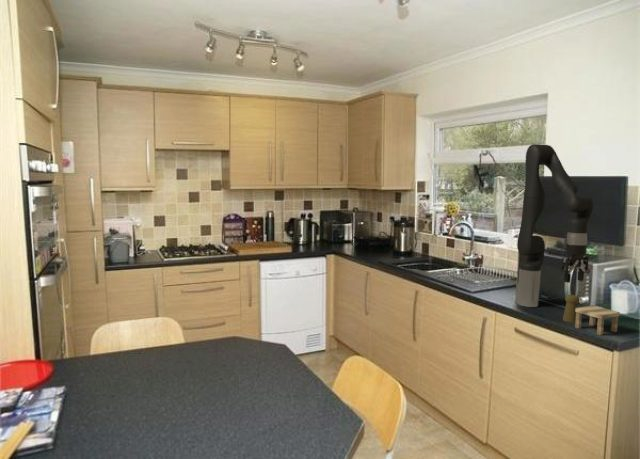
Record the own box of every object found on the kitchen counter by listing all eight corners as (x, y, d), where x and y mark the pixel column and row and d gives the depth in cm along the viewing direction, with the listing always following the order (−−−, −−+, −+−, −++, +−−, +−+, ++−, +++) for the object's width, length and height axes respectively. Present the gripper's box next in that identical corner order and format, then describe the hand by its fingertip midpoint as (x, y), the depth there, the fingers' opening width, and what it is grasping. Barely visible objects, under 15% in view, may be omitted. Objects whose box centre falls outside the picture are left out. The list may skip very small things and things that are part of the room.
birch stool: (574, 327, 189) (575, 308, 188) (591, 323, 194) (592, 305, 193) (600, 335, 179) (602, 315, 179) (617, 331, 184) (619, 312, 184)
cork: (574, 318, 201) (576, 293, 200) (581, 323, 195) (583, 297, 194) (560, 318, 201) (562, 293, 200) (566, 322, 195) (568, 296, 194)
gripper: (579, 241, 201) (576, 278, 203) (557, 243, 195) (554, 281, 196) (596, 243, 194) (593, 281, 196) (573, 245, 188) (571, 284, 190)
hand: (573, 281), depth 196 cm, fingers open, 8 cm apart
